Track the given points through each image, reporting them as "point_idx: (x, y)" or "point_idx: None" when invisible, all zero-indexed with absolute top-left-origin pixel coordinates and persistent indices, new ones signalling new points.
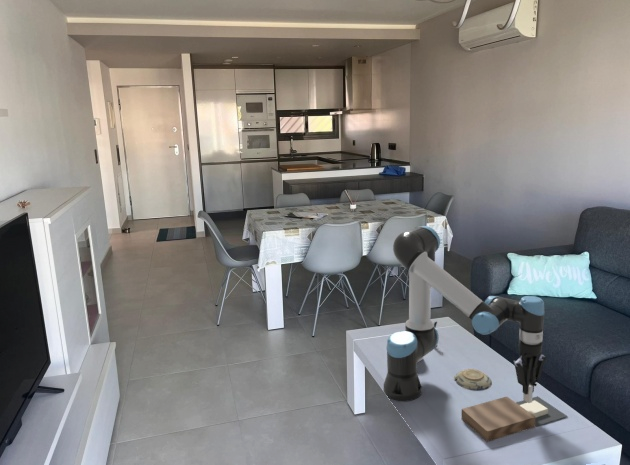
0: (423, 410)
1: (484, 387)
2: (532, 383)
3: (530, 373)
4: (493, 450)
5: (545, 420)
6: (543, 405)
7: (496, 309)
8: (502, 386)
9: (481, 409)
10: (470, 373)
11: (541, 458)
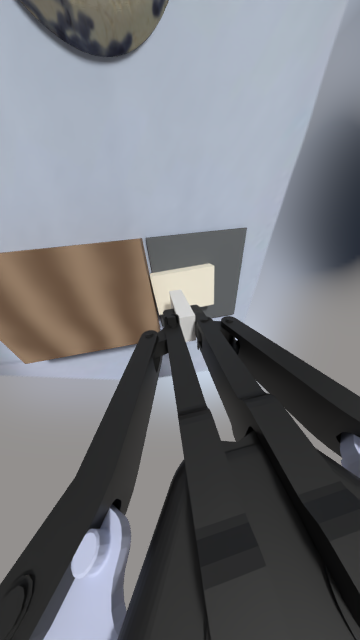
0: None
1: (104, 38)
2: (198, 344)
3: (213, 366)
4: (52, 362)
5: None
6: (225, 271)
7: None
8: (198, 82)
9: (17, 285)
10: None
11: None
